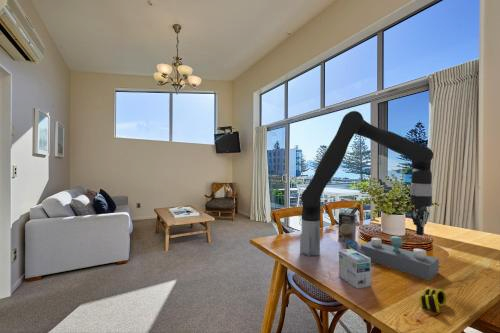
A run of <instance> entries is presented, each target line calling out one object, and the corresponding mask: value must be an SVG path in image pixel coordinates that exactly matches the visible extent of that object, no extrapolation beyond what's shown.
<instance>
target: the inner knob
mask: <svg viewBox="0 0 500 333" xmlns="http://www.w3.org/2000/svg"><path fill="white" fill-rule="evenodd" d="M370 241H371V245H372V246H375V247H381V246H382V244H383V243H382V238H379V237H371V240H370Z"/></svg>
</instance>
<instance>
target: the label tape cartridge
mask: <svg viewBox="0 0 500 333" xmlns="http://www.w3.org/2000/svg"><path fill="white" fill-rule="evenodd" d="M345 249H353V250H355V251H357V252H359V253H361V254H363V255H365V253H364V252H363V251H361V250H360V249H359V247H358V243H356V241H355V242H353V241H351V240H349V239H348V238H346V242H345Z"/></svg>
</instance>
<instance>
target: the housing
mask: <svg viewBox="0 0 500 333" xmlns="http://www.w3.org/2000/svg"><path fill="white" fill-rule="evenodd" d="M359 250H361V251H363V252H364V253H365V256H367V257H370V258H371V262H374V263H377V264H380V265H383V266H384V267H388V266H389V267H388V268H391V269H394V270H397V271H401V272H403V273H406V274H408V273H409V274H408V275H412V276H415V277H418V278H420V277H421V279H423V278H424V280H427V281H430V280H432V279H433V278H434V277H435V276H437V275H438V274H439V268H440V267H439V263H440V262H439V260H440V259H439V258H438V257H433V256H430V255H426V259H425V260H421V259H417V258H415V257H413V251H412V250H408V249H403V248H400V247H399V253H396V252H394V245H389V244H384V243H382V246H381V247H375V246H372V245H371V240H370V241H368V242H365V243H362V244H360V249H359Z"/></svg>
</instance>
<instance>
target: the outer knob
mask: <svg viewBox="0 0 500 333" xmlns="http://www.w3.org/2000/svg"><path fill="white" fill-rule="evenodd" d="M412 252H413V257H415V258H417V259H421V260H425V259H426V256H427V251H426V250H425V249H422V248H413V251H412Z"/></svg>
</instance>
